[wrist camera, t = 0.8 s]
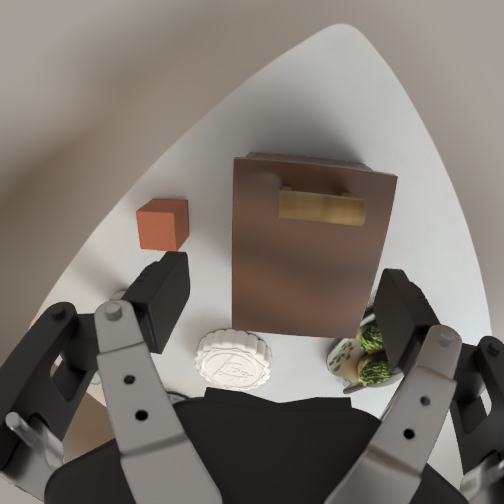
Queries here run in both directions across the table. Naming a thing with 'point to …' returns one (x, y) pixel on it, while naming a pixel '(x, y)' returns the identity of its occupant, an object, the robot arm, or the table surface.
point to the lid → (306, 245)
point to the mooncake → (233, 360)
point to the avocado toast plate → (362, 358)
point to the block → (163, 224)
